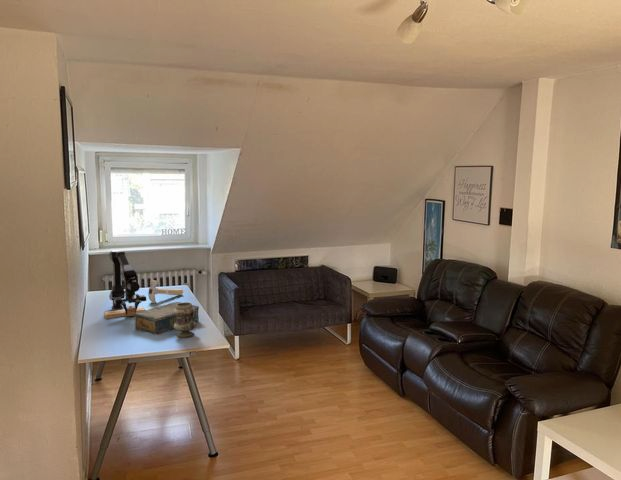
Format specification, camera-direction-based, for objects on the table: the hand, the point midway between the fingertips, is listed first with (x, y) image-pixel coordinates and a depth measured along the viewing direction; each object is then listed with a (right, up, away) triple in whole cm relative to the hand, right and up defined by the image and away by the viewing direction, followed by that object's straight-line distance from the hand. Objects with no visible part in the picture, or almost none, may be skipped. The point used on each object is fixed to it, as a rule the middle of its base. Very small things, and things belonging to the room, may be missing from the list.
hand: (130, 313), depth 311 cm
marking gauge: (-1, -1, +2) cm, 3 cm away
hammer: (+9, +3, +45) cm, 46 cm away
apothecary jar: (+44, -7, -38) cm, 59 cm away
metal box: (+29, -5, -18) cm, 35 cm away
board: (-5, -2, +5) cm, 7 cm away
